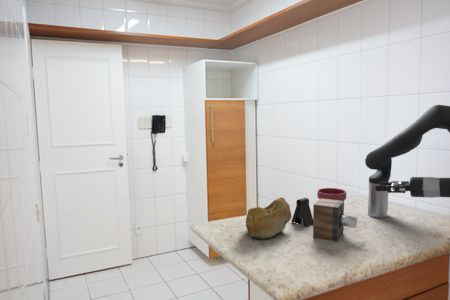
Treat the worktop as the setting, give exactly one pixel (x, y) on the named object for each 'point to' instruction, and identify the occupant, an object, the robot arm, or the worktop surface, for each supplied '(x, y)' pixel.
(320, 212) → the housing
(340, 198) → the plant pot
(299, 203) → the phone stand
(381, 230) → the worktop surface
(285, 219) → the rough brown rock
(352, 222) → the peg
